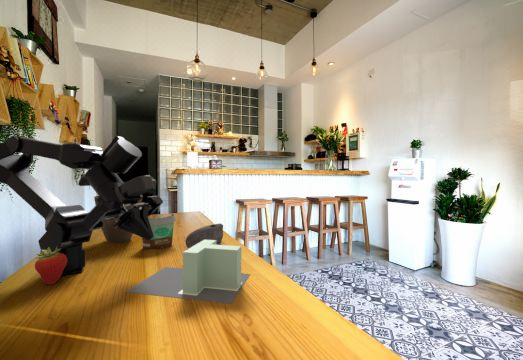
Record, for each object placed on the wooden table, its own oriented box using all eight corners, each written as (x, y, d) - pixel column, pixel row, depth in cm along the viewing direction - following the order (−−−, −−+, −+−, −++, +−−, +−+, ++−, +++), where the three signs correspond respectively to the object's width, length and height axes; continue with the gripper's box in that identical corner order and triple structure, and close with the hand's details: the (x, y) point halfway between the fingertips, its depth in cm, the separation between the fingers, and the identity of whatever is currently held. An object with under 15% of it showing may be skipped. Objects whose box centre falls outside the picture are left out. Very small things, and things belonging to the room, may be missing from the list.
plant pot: (151, 239, 92) (151, 195, 92) (108, 248, 79) (108, 198, 79) (128, 233, 100) (128, 193, 99) (85, 242, 87) (85, 196, 87)
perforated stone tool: (190, 254, 75) (190, 230, 75) (180, 250, 78) (180, 228, 78) (228, 244, 86) (228, 224, 86) (218, 241, 90) (218, 222, 89)
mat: (124, 293, 49) (124, 291, 49) (165, 267, 63) (165, 266, 63) (231, 305, 45) (231, 303, 45) (250, 275, 59) (250, 274, 59)
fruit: (35, 282, 54) (35, 245, 54) (66, 276, 57) (66, 241, 57) (34, 291, 50) (33, 251, 50) (68, 284, 53) (67, 246, 53)
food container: (148, 252, 75) (148, 219, 75) (138, 249, 79) (138, 217, 79) (183, 244, 85) (183, 214, 85) (173, 241, 89) (173, 213, 89)
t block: (182, 292, 49) (182, 252, 49) (204, 273, 59) (204, 239, 59) (231, 298, 47) (231, 255, 47) (245, 277, 57) (245, 242, 57)
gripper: (97, 160, 47) (148, 222, 45) (157, 165, 66) (195, 209, 64) (62, 199, 49) (110, 261, 47) (130, 193, 67) (166, 237, 65)
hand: (151, 238), depth 56 cm, fingers closed
